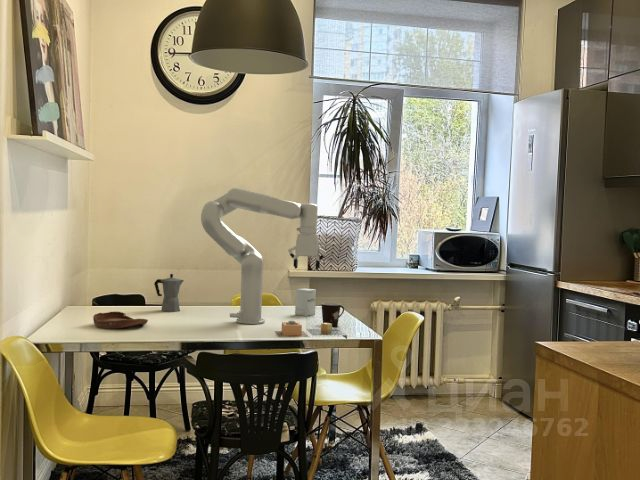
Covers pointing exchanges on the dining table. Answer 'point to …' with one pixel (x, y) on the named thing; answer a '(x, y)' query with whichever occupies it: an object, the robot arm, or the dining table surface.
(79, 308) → the dining table surface
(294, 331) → the collar
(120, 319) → the brown wooden bowl
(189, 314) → the dining table surface
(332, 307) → the coffee mug
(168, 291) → the coffeepot
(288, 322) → the stand
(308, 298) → the supplement box
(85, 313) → the dining table surface
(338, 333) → the base plate
